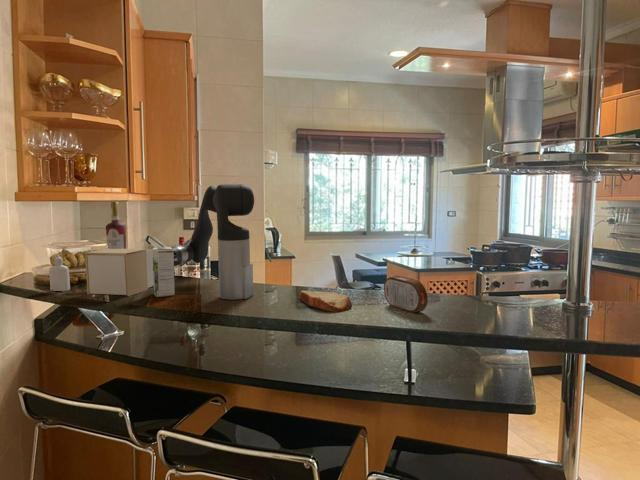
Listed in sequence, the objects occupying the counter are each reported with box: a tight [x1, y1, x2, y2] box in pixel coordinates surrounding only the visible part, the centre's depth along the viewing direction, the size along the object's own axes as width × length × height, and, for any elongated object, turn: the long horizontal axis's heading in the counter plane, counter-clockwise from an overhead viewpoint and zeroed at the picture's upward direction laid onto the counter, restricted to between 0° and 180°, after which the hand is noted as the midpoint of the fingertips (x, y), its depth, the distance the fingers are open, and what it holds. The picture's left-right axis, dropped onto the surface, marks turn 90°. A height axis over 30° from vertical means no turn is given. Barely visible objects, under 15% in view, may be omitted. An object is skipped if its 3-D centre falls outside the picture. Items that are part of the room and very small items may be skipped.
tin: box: [383, 274, 429, 314], centre depth 125 cm, size 15×3×8 cm, turn 30°
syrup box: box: [152, 246, 176, 298], centre depth 147 cm, size 6×6×14 cm
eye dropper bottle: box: [48, 253, 71, 292], centre depth 155 cm, size 4×6×12 cm
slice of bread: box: [298, 290, 353, 313], centre depth 133 cm, size 18×18×4 cm
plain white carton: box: [87, 248, 154, 296], centre depth 155 cm, size 13×17×12 cm
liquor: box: [105, 201, 127, 249], centre depth 185 cm, size 7×7×28 cm
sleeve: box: [84, 248, 149, 297], centre depth 152 cm, size 15×10×13 cm
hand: (147, 262), depth 168 cm, fingers closed
